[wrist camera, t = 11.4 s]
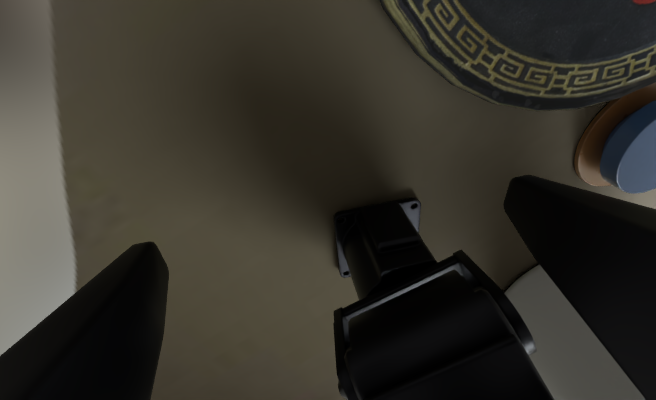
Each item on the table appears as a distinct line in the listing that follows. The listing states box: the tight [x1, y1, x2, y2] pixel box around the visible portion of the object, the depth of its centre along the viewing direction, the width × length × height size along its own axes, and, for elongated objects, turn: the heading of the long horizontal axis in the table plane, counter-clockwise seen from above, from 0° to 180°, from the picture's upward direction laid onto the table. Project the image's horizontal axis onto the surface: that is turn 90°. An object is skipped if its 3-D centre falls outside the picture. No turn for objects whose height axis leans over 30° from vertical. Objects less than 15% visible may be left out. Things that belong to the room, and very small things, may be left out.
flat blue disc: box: [600, 100, 656, 193], centre depth 23 cm, size 7×7×2 cm
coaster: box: [574, 82, 656, 186], centre depth 24 cm, size 9×9×1 cm
